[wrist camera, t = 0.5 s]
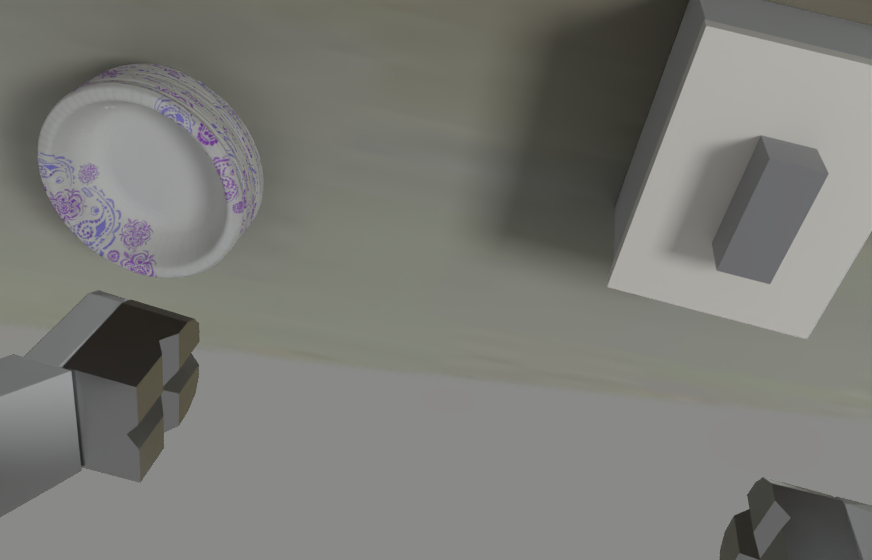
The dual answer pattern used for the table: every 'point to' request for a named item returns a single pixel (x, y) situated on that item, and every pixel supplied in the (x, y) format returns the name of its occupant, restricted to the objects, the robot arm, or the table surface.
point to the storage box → (722, 3)
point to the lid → (755, 183)
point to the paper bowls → (151, 170)
